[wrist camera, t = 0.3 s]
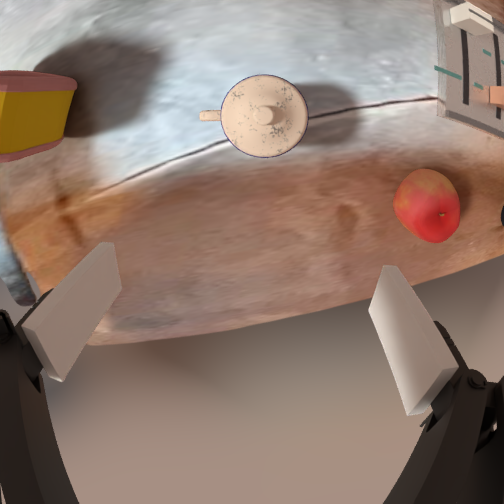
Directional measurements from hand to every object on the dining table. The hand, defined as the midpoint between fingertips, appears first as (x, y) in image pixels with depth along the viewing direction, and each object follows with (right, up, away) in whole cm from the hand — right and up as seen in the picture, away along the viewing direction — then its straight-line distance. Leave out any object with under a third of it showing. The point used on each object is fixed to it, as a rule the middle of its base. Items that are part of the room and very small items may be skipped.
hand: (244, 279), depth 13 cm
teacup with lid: (+1, +19, +21) cm, 29 cm away
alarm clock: (-34, +26, +20) cm, 47 cm away
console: (+36, +31, +13) cm, 49 cm away
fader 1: (+32, +36, +8) cm, 49 cm away
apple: (+24, +10, +25) cm, 36 cm away
